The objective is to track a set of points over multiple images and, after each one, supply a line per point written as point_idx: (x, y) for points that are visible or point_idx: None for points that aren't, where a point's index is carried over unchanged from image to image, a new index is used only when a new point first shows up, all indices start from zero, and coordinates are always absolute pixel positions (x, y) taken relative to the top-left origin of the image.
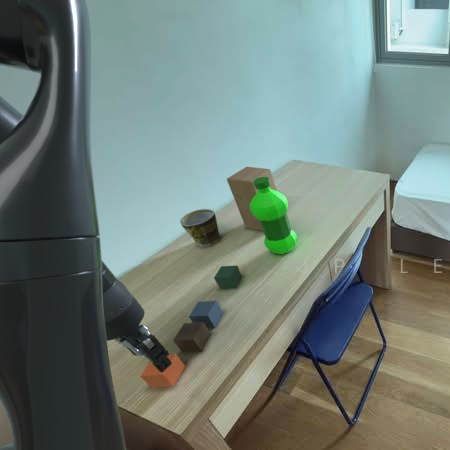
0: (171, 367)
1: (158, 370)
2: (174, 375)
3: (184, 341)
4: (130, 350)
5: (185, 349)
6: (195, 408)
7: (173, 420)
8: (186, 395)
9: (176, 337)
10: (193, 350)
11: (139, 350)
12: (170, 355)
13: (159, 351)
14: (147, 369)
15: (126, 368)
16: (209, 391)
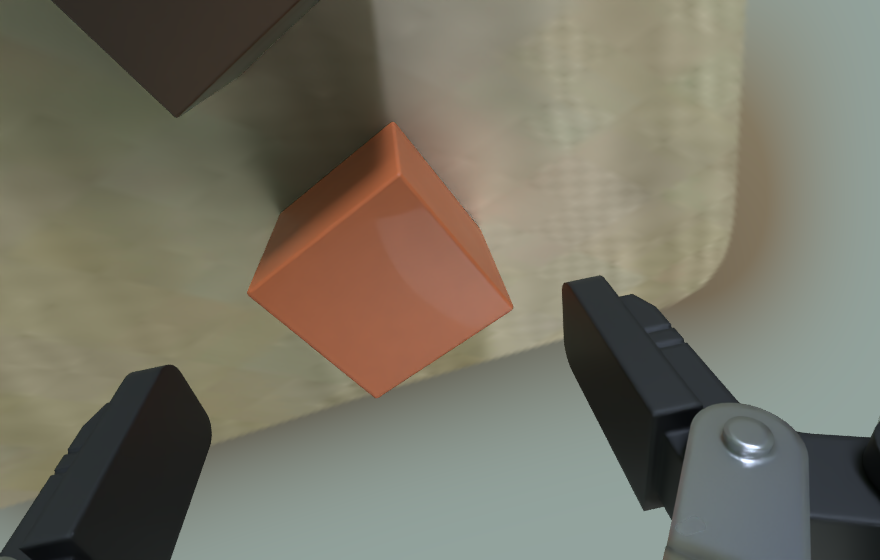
0: (459, 232)
1: (576, 372)
2: (461, 215)
3: (271, 32)
4: (182, 521)
5: (261, 52)
6: (718, 206)
7: (657, 293)
8: (604, 205)
9: (154, 71)
10: (313, 5)
11: (182, 421)
12: (371, 209)
13: (832, 524)
14: (362, 360)
15: (101, 353)
16: (721, 106)
